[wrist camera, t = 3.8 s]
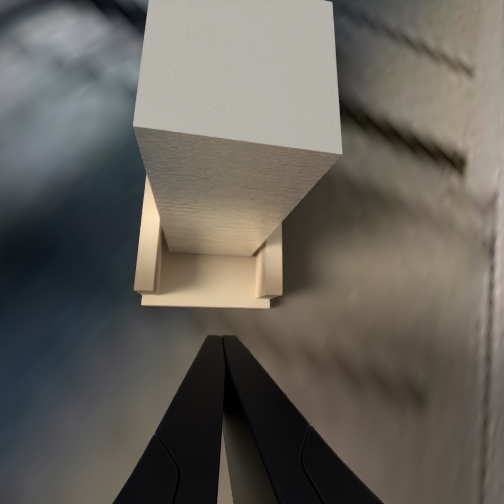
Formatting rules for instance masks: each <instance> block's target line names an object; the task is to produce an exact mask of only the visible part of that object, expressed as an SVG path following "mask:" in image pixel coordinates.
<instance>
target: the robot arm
mask: <svg viewBox="0 0 504 504" xmlns="http://www.w3.org/2000/svg"><path fill="white" fill-rule="evenodd" d="M309 426H310V424H309V422H308V421H307V420H306V419H305V418H304V416H303V415H302V414H301V413H300V412H299V410H298V409H297V408H296V407H295V406H294V404H293V403H292V402H291V401H290V399H289V398H288V397H287V396H286V395H285V393H284V392H283V391H282V390H281V389H280V387H279V386H278V385H277V384H276V383H275V381H274V380H273V379H272V378H271V377H270V375H269V374H268V373H267V372H266V371H265V369H264V368H263V367H262V366H261V365H260V363H259V362H258V361H257V360H256V359H255V357H254V356H253V355H252V354H251V353H250V351H249V350H248V349H247V348H246V347H245V345H244V344H243V343H242V342H241V341H240V339H239V338H238V337H237V336H236V335H223V336H221V335H208V336H207V337H206V339H205V341H204V342H203V344H202V346H201V348H200V350H199V352H198V354H197V355H196V357H195V359H194V361H193V363H192V365H191V367H190V368H189V370H188V372H187V374H186V376H185V378H184V380H183V381H182V383H181V385H180V387H179V389H178V391H177V393H176V395H175V396H174V398H173V400H172V402H171V404H170V406H169V408H168V409H167V411H166V413H165V415H164V417H163V419H162V421H161V422H160V424H159V426H158V428H157V430H156V432H155V435H153V437H152V438H151V440H150V442H149V444H148V446H147V448H146V449H145V451H144V453H143V455H142V457H141V458H140V460H139V462H138V463H137V465H136V467H135V469H134V470H133V472H132V474H131V476H130V477H129V479H128V480H127V482H126V483H125V485H124V487H123V488H122V490H121V491H120V493H119V494H118V496H117V497H116V499H115V500H114V502H113V504H217V496H218V481H219V467H220V452H221V438H222V428H223V435H224V442H225V449H226V455H227V462H228V469H229V476H230V483H231V490H232V496H233V503H234V504H384V503H383V502H382V501H381V500H380V499H379V498H378V497H377V496H376V495H375V494H374V493H373V492H372V491H371V490H370V489H369V488H368V487H367V486H366V485H365V484H364V483H363V482H362V481H361V480H360V479H359V478H358V477H357V476H356V475H355V474H354V473H353V472H352V471H351V470H350V468H349V467H348V466H347V465H346V464H345V463H344V462H343V461H342V460H341V459H340V458H339V457H338V456H337V454H336V453H335V452H334V451H333V450H332V449H331V448H330V446H329V445H328V444H327V443H326V442H325V441H324V440H323V438H322V437H321V436H320V435H319V434H318V432H317V431H316V430H315V429H314V428H313V426H310V427H309Z"/></svg>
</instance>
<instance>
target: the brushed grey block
mask: <svg viewBox="0 0 504 504" xmlns="http://www.w3.org/2000/svg"><path fill="white" fill-rule="evenodd" d="M133 128H134V131H135V135H136V138H137V142H138V145H139V149H140V152H141V155H142V159H143V162H144V166H145V169H146V173H147V176H148V180H149V183H150V186H151V190H152V193H153V197H154V200H155V204H156V207H157V210H158V214H159V217H160V221H161V224H162V228H163V231H164V234H165V238H166V241H167V245H168V248H169V252H179V253H196V254H213V255H230V256H246V257H251V256H252V254H253V253H254V252H255V251H256V250H257V249H258V248H259V247H260V246H261V244H262V243H263V242H264V241H265V240H266V239H267V238H268V237H269V235H270V234H271V233H272V232H273V231H274V230H275V229H276V228H277V227H278V225H279V224H280V223H281V222H282V221H283V220H284V219H285V218H286V217H287V215H288V214H289V213H290V212H291V211H292V210H293V209H294V208H295V207H296V205H297V204H298V203H299V202H300V201H301V200H302V199H303V198H304V196H305V195H306V194H307V193H308V192H309V191H310V190H311V189H312V188H313V186H314V185H315V184H316V183H317V182H318V181H319V180H320V179H321V178H322V176H323V175H324V174H325V173H326V172H327V171H328V170H329V169H330V167H331V166H332V165H333V164H334V163H335V162H336V161H337V160H338V159H339V157H340V156H341V155H342V143H341V128H340V113H339V98H338V83H337V68H336V53H335V38H334V23H333V8H332V2H329V1H324V0H149V5H148V12H147V20H146V28H145V36H144V44H143V51H142V59H141V67H140V75H139V83H138V90H137V98H136V106H135V114H134V122H133Z"/></svg>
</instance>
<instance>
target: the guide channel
mask: <svg viewBox="0 0 504 504" xmlns="http://www.w3.org/2000/svg"><path fill="white" fill-rule="evenodd" d="M134 290H135V291H136V292H138V293H140V294H141V295H142V304H141V305H143V306H166V307H206V308H246V309H268V308H270V299H272V298H275V297H278V296H281V295H282V222H281V223H280V224H279V225H278V227H277V228H276V229H275V230H274V231H273V232H272V233H271V234H270V235H269V237H268V238H267V239H266V240H265V241H264V242H263V243H262V244H261V246H260V247H259V248H258V249H257V250H256V251H255V252H254V253H253V254H252V256H251V257H246V256H230V255H213V254H196V253H179V252H169V248H168V245H167V241H166V238H165V234H164V231H163V228H162V224H161V221H160V217H159V214H158V210H157V207H156V204H155V200H154V197H153V193H152V190H151V186H150V183H149V180H148V176H146V185H145V194H144V203H143V212H142V221H141V230H140V239H139V248H138V257H137V266H136V275H135V284H134Z"/></svg>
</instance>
